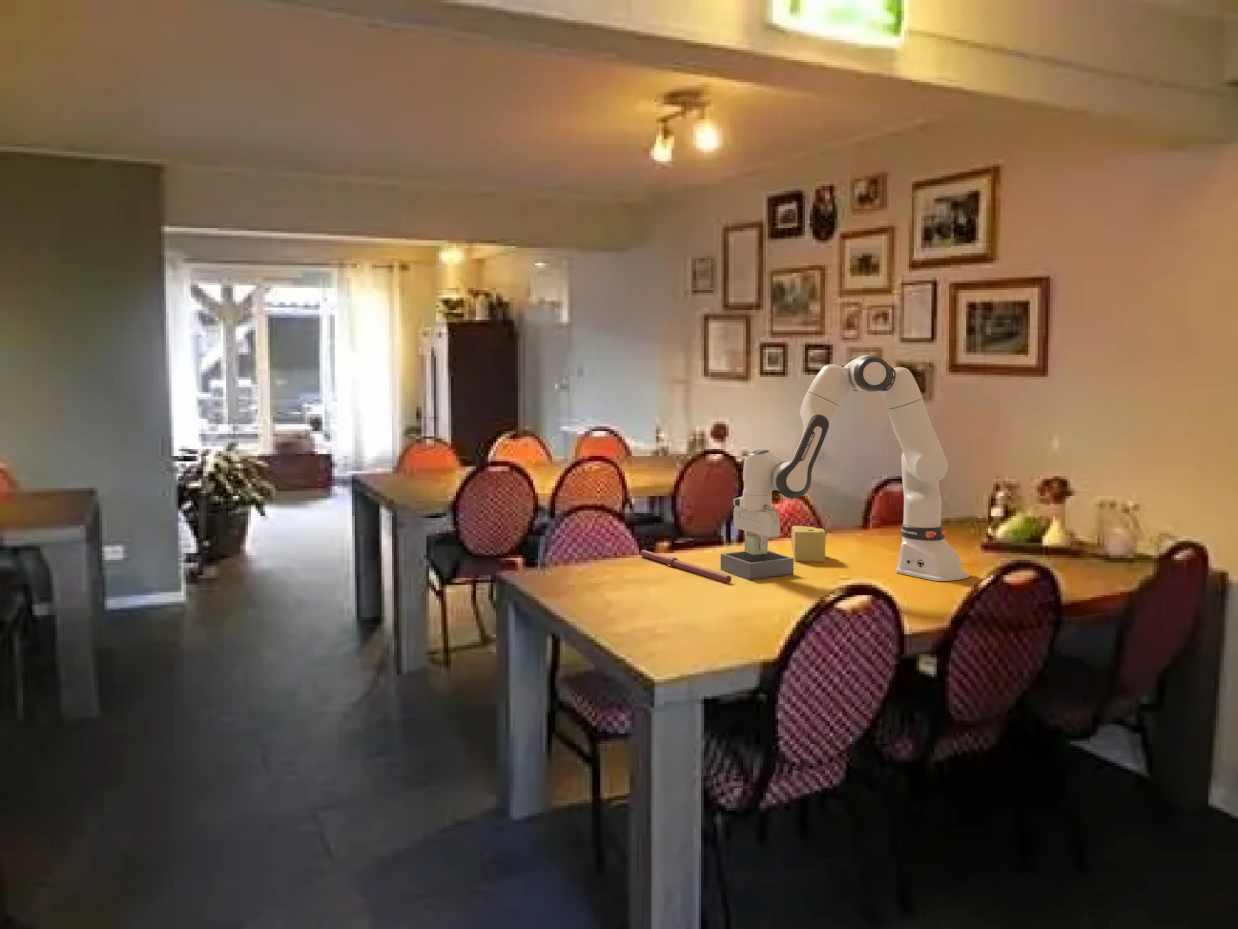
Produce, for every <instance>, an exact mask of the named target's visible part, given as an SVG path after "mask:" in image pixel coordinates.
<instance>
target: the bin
mask: <svg viewBox="0 0 1238 929" xmlns="http://www.w3.org/2000/svg"><path fill="white" fill-rule="evenodd" d="M794 561H795V560H794V557H791V556H787V555H784V554H782V553H778V552H775V551H771V550H768V549H767V553H766V554H757V555H753V554H750V553H747V552H745V550H742V551H733V552H725V553H720V571H723V570H724V572H726V573H728V572H729V574H731V575H734V576H737V577H739V578H742V579H746V580H749V581H753V580H762V579H771V578H777V577H785V576H790V575H791V576H792V575H793V576H794V571H795V570H794V569H795V568H794V567H795V566H794V564H795V563H794Z"/></svg>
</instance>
